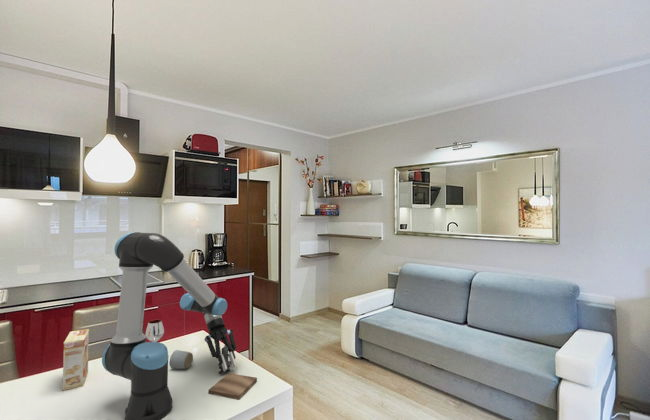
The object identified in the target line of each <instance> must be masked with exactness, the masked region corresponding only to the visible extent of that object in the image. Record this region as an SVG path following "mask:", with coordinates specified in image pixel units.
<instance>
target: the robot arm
mask: <svg viewBox="0 0 650 420" xmlns="http://www.w3.org/2000/svg"><path fill="white" fill-rule="evenodd" d="M114 254H115V256H116V257H117V259H118V260H119V263H118V267H119V268H120V270H121V271H122V274H121V275H122V277H121V287H120V294H119V305H118V312H117V319H116V320H117V321H116V330H115V331H116V332H115V335H114V336H113V337H112V338H111V339H110V343H109V344H108V345H107V348H105V349H104V351H103V352H102V357H101V363H102V366H103V368H104V369H105V371H107V372H108V373H110V374H111V375H114V376H118V377H121V378H123V379H125V380H128V381H130V397H129V399H128V403H127V406H126V408H125V410H124V411H125V412H124V420H162V419H163V418H165V417H166V416H167V415H169V413H171V411H172V409H173V402H174V401H173V396H172V395H171V391H170V389H169V386H168V385H169V383H168V381H169V380H168V377H169V374H168V373H169V352H168V351H169V350H168V347H167V346H166V345H165V344H164V343H162V342H160V341H159V342H158V341H157V342H152V341H148V342H147V341H146V339H147V338H146V335H145V333H143V325H144V317H145V316H144V315H145V307H146V306H145V305H146V295H147V287H148V286H147V285H148V277H149V276H148V275H149V271H150V270H151V269H152V268H154V266H156V267H157V268H159V269H160V270H161V271H162V272H164V273H168V274H169V275H170V276H171V277H172V278H173V279H174V281H176V282H177V283H178V284H179V285H180V287H182V288H183V289H184V291H186V293H184V294H183V295H182V296H181V298H180V301H179V307H180V308H181V309H182V310H184V311H192V312H197V313H202V314H203V317H204V320H205V321H204V322H205V324H206V328H207V331H208V332H209V333H208V335H206V336H205V337H204V341H205V342H206V344H207V347H208V349H209V351H210V355H211V357H212V358H213V359H214V358H215V359H217V361H218V364H221V365H222V368H223V371H224V372H225V371H226V370H227V366H226V362H225V359H224V356H223V355H222V350H221V346H220V341H221V342H223V344H224V346H225V347H227V348H228V354H229V356H228V359H229V360H230V362H231V367H232V369H235V368H236V367H237V362H236V355H235V351H236V350H237V347H238V346H237V344H236V340H235V337H234V330H233V329H232V328H231V329H227V327H226V324H225V322H224V319H223V316H222V315H224V314H225V313H226V311H227V309H228V302H227V300H226V299H225V298H223V297H219V296H218V295H216V293H215V292H214V291H213V290H212V289H211V288H210V287H209V285H208V284H207V283H206V282H205V281H204V280H203V279H202V277H200V275H199V274H198V273H197V272H196V271H195V270H194V269H193V267H192V266H191V265H190V264H189V263H188V262H187V261H186V259H185V255H184V252H182V251H181V250H180V249H179V248H178V246H177V245H176V244H175V243H173V242H172V241H171V240H170V239H169V238H167V236H164V235H162V234H160V233H156V232H138V231H137V232H129V233H126V234H123V235H122V236H120V237H119V239H117V241H116V243H115V244H114ZM212 340H213V341H212Z"/></svg>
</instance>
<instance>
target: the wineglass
mask: <svg viewBox="0 0 650 420" xmlns="http://www.w3.org/2000/svg"><path fill="white" fill-rule="evenodd" d="M164 334H165V328H164V325H163V322H162V320H161V319H154V320H153V319H152V320H150V321H148V323H147V327H146V330H145V333H144V335H145V336H146V339H147V340H148V341H149V342H158V341H159V340H160V339H161V338H163V335H164Z"/></svg>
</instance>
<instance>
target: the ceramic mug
mask: <svg viewBox="0 0 650 420" xmlns="http://www.w3.org/2000/svg"><path fill="white" fill-rule="evenodd" d="M193 362H194V355H193V353H192V352H190V351H185V350H179V349H176V350H173V352H172V353H171V354H170V357H169V360H168V366H169V367H170V368H171V369H182V370H186V369H189V368H190V367H191V365H192V363H193Z"/></svg>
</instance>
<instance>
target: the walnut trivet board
mask: <svg viewBox="0 0 650 420" xmlns="http://www.w3.org/2000/svg"><path fill="white" fill-rule="evenodd" d="M257 382H258V377H256V376H255V377H254V376H248V375H243V374H237V373H232V372H230V373H228V374H225V375H224V376H223V377H222V378H221V379H219V380H218V381H217V382H216V383H215V384H214V385H212V386H211V387H210V388H209V389H208V392H207V393H208V395H214V396H218V397H219V396H220V397H223V398H229V399H234V400H240V399H241V398H242V397H243V396H244V395H245V394H246V393H247V392H248V391H249V390H250V389H251V388H252V387H253V386H254V385H255V384H256V383H257Z"/></svg>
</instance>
